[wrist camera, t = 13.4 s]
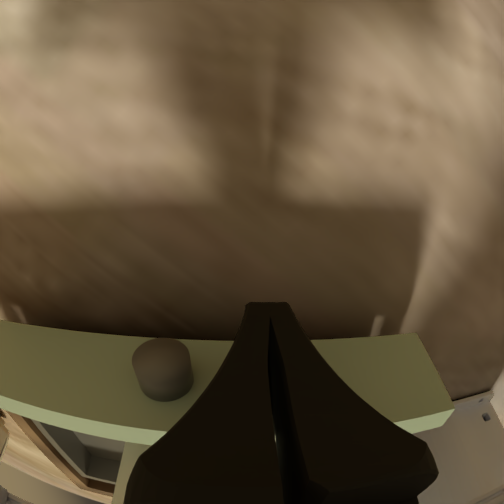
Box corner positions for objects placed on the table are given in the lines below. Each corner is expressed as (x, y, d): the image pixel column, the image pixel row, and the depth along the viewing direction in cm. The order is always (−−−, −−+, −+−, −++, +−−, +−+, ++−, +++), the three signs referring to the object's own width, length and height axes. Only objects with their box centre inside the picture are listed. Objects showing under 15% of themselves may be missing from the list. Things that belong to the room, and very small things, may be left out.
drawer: (351, 458, 19) (362, 510, 15) (72, 444, 18) (58, 490, 15) (424, 311, 12) (469, 387, 8) (-16, 299, 12) (-61, 356, 8)
